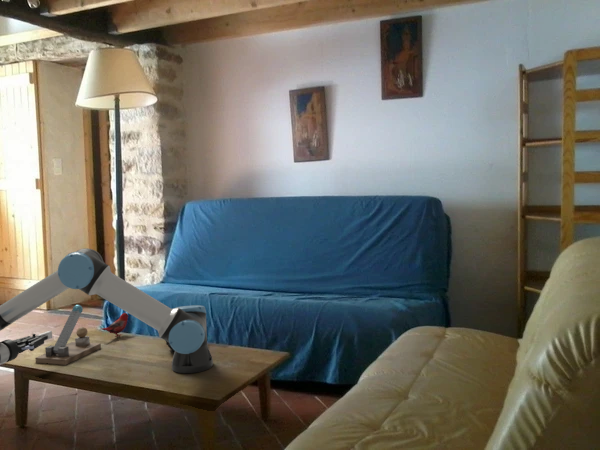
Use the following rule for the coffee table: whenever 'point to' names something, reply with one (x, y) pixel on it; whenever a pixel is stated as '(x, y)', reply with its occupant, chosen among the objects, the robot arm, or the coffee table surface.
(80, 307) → the lever
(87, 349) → the nutcracker base
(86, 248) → the robot arm
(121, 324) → the decorative bird figurine
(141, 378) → the coffee table surface
